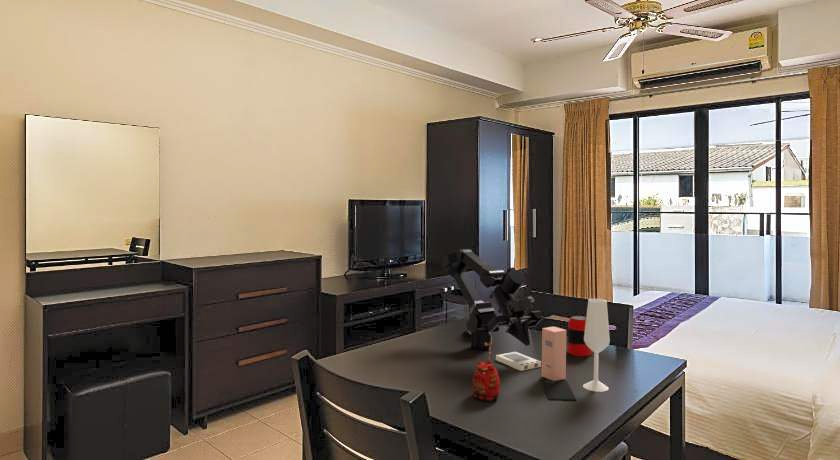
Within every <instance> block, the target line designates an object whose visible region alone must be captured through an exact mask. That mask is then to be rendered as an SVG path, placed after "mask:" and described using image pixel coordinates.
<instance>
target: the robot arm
mask: <svg viewBox="0 0 840 460" xmlns="http://www.w3.org/2000/svg"><path fill="white" fill-rule="evenodd" d="M440 265H441V266H442V269H443V270H444V271H445V273H446V274H447V275H449V276H450V277H452V278H453V279H454V281H455V282H456V284H457V286H458V288H459V290H460V291H461V293H462V296H463V298H464V300H465V301H466V303H467V305H468V306H469V308H470V309H469V319H468V321H467V322H466V324H465V328H466V327H467V329H466V331H467V330H469V331H471V335H470V347H469V349H470V350H477V351H478V350H481V351H489V346H488V345H487V346H485V342H487V344H489V342H490V341H491V339H493V337H492V336H493V334H494V333H498V332H499V331H500V327H505V326H506V330H505V333H506V334H509V335H510V336H512V337H514V338H516V339H517V340H518V341H519V342H520V343H522V344H523V345H524V346H525V347H528V346H530V345H531V341H530V340H531V339H530V334H529V333H530V332H529V328H532V327H536V326H538V325H539V323H540V322H541V321H542V320H543V319H544V318H545V315H544V314H543V312H542V311H541V310H533V311H530V312H529V313H528V314H527V311H528V310H532V309H533V308H534V307H535V306H536V301H535V298H534V297H533V296H526V297H524V299H515V298H514V295H515V294H517V292H519V290H520V289H521V288H522V287H523V286H524V284H525V283H526V281H527V278H526V276H525V274H524V273H522V272H521V271H519V270H517V269H516V268H515V267H508V269H507V271H506V272H505V271H504V270H503V269H501V268H499V267H496V266H493V265H489V264H488V263H487V262H485V261H484V260H483V259H482V258H480V257H479V256H478V255H476V254H475V253H474V252H473V251H472V249H470V248H463V249H459V250H457V251H455V252H453V253H450V254H446V255H444V256H443V258H442V259H441V264H440ZM467 267H468V268H469V269H470V270H471V271H473V272H474V273H475V274H477V276H478V279H479V281H480V283H481V284H482V285H483V286H484V287H485V288H494V289H492V290H490V294H489V297H488V299H490V300H493V299H494V300H495V302H496V304H497V307H498V310H497V312H498V314H502V315H497V313H496V310H495V308H494V307H493V305H492V303H491V302H490V301H486V302H484V301H483V299H482V297H481V295H480V294H479V292H478V290H477V289H476V287H475V285H474V284H473V282H472V279H471V278H470V276H469V275H468V274H467V271H466V270H467ZM526 314H527V315H526ZM524 315H526V316H524ZM490 333H491V334H490ZM491 343H492V345H493V341H492V342H491ZM492 345H491V347H492Z"/></svg>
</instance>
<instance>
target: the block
mask: <svg viewBox="0 0 840 460" xmlns="http://www.w3.org/2000/svg"><path fill="white" fill-rule="evenodd" d="M541 330H542V331H541V334H542V335H541V377H542V378H545V379H546V380H553V381H557V380H566V377H567V376H566V375H567V373H566V372H567V370H566V369H567V332H568V329H564V328H560V327H557V326H548V327H542V329H541Z"/></svg>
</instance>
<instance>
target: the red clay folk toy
mask: <svg viewBox="0 0 840 460" xmlns="http://www.w3.org/2000/svg"><path fill="white" fill-rule="evenodd" d="M491 342H492V343H491ZM487 345H488V346H489V350H488V357H487V361H486V362H483V361H478V363H477V365H476V369H475V371H474V373H473V377H472V379H471V381H472V388H471V389H472V395H473V397H474V398H477V399H479V400H480V401H483V402H493V400H496V399H498V397H499V396H500V390H501V379H500V377H499V371H498V370H497V369H496V367H495V366H494V365H493V364H492V361H491V356H492V352H491V351H492V346H491V345H493V338H492V339H491V341H490V342H489V344H487V342H485V346H487Z"/></svg>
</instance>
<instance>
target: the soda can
mask: <svg viewBox="0 0 840 460" xmlns="http://www.w3.org/2000/svg"><path fill="white" fill-rule="evenodd" d="M585 324H586V316H581V315H578V316H577V315H575V316H571V317H570V319H569V320H568V321H567V353H568V354H569V355H570V356H575V357H583V358H584V357H589V356H590V355H591V354H592V350H591V349H590V348H589V347H588V346H587V345H586V344H585V342H584V333H585Z"/></svg>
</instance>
